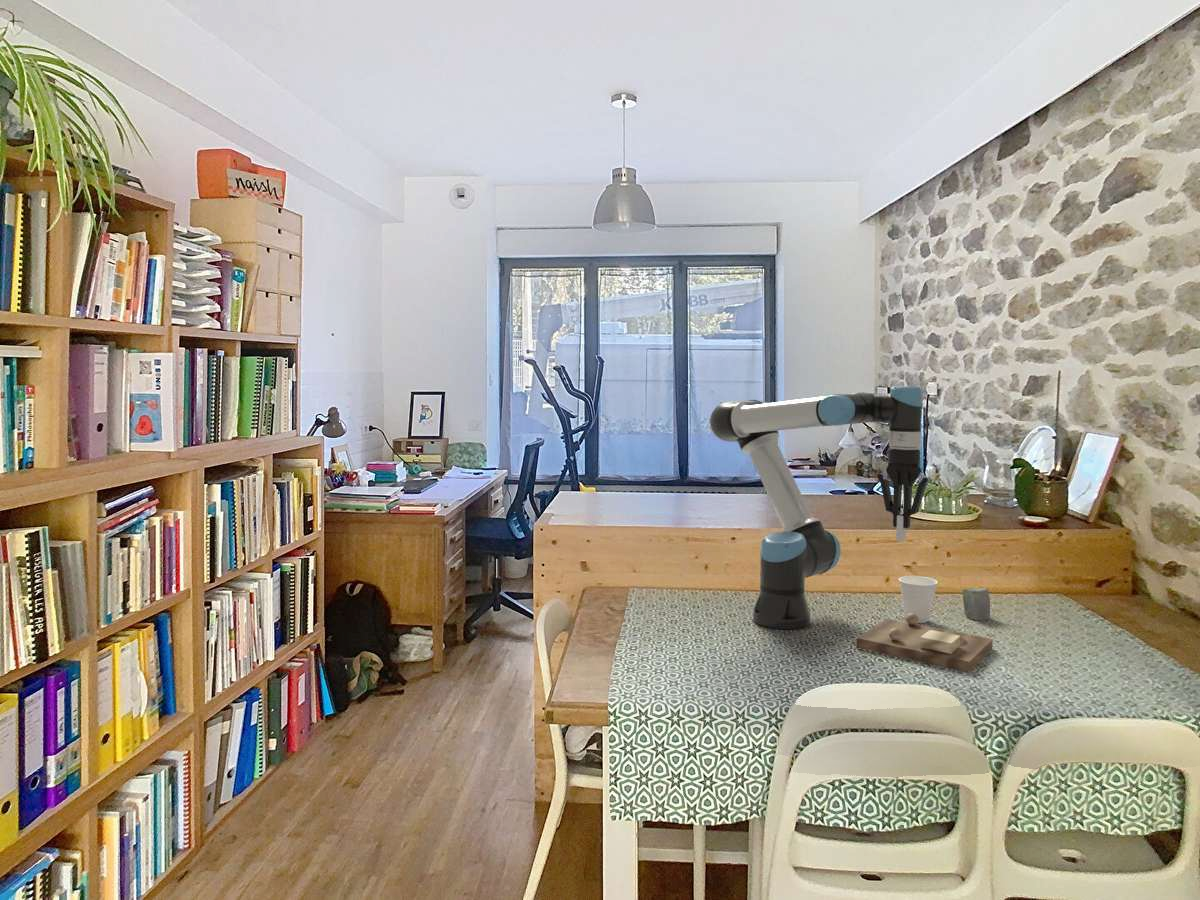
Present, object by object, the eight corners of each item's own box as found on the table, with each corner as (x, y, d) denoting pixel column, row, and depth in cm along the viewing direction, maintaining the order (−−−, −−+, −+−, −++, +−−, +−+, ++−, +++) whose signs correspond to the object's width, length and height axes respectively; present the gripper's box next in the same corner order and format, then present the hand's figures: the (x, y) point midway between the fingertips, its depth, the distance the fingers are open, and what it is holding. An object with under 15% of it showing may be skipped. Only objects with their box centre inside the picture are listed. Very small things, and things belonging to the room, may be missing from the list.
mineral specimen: (997, 614, 229) (996, 587, 227) (979, 626, 225) (978, 598, 223) (972, 606, 235) (971, 580, 233) (954, 618, 231) (953, 591, 229)
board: (856, 647, 204) (856, 637, 203) (885, 627, 219) (886, 618, 219) (968, 672, 187) (969, 661, 187) (992, 649, 203) (992, 639, 203)
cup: (939, 626, 220) (941, 586, 219) (900, 624, 222) (901, 584, 221) (932, 615, 230) (934, 576, 229) (894, 613, 232) (896, 574, 231)
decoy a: (886, 640, 201) (887, 628, 201) (891, 637, 203) (891, 625, 203) (899, 643, 199) (899, 631, 199) (903, 640, 202) (904, 628, 201)
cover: (919, 647, 196) (920, 637, 195) (929, 639, 201) (929, 629, 201) (950, 653, 191) (951, 643, 191) (959, 645, 197) (960, 635, 196)
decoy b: (904, 625, 213) (904, 613, 213) (908, 622, 216) (908, 610, 215) (916, 627, 212) (916, 615, 211) (919, 624, 214) (920, 613, 214)
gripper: (873, 447, 210) (870, 539, 213) (926, 450, 202) (922, 546, 205) (884, 445, 216) (880, 534, 219) (935, 448, 208) (931, 541, 211)
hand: (900, 540), depth 212 cm, fingers closed
